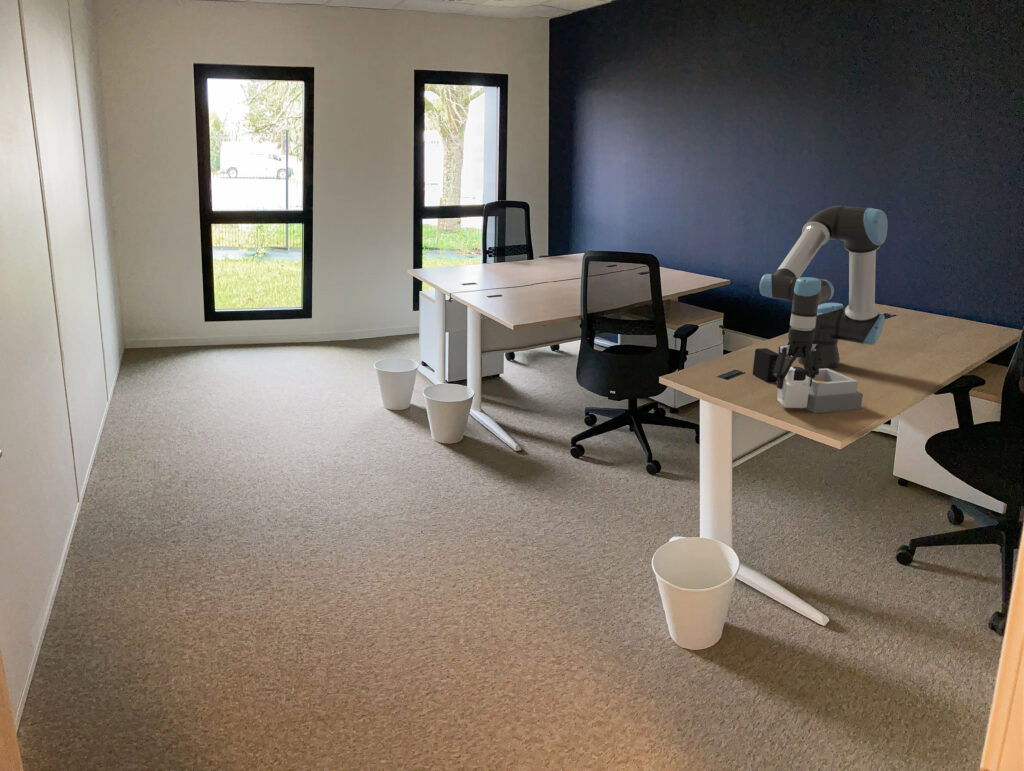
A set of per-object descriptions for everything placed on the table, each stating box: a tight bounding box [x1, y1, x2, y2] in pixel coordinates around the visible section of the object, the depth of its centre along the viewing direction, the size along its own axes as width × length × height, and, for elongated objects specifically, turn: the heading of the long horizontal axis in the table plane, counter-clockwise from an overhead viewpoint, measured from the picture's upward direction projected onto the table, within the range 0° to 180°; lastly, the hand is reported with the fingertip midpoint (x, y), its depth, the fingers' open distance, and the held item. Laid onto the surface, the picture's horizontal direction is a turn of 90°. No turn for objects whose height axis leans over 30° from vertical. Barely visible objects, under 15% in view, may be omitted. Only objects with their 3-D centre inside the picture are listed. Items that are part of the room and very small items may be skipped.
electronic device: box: [752, 347, 779, 383], centre depth 298 cm, size 4×10×10 cm, turn 16°
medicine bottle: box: [777, 366, 809, 409], centre depth 265 cm, size 7×7×12 cm
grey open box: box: [804, 368, 864, 414], centre depth 274 cm, size 18×18×9 cm
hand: (792, 397), depth 266 cm, fingers closed on medicine bottle, 8 cm apart
